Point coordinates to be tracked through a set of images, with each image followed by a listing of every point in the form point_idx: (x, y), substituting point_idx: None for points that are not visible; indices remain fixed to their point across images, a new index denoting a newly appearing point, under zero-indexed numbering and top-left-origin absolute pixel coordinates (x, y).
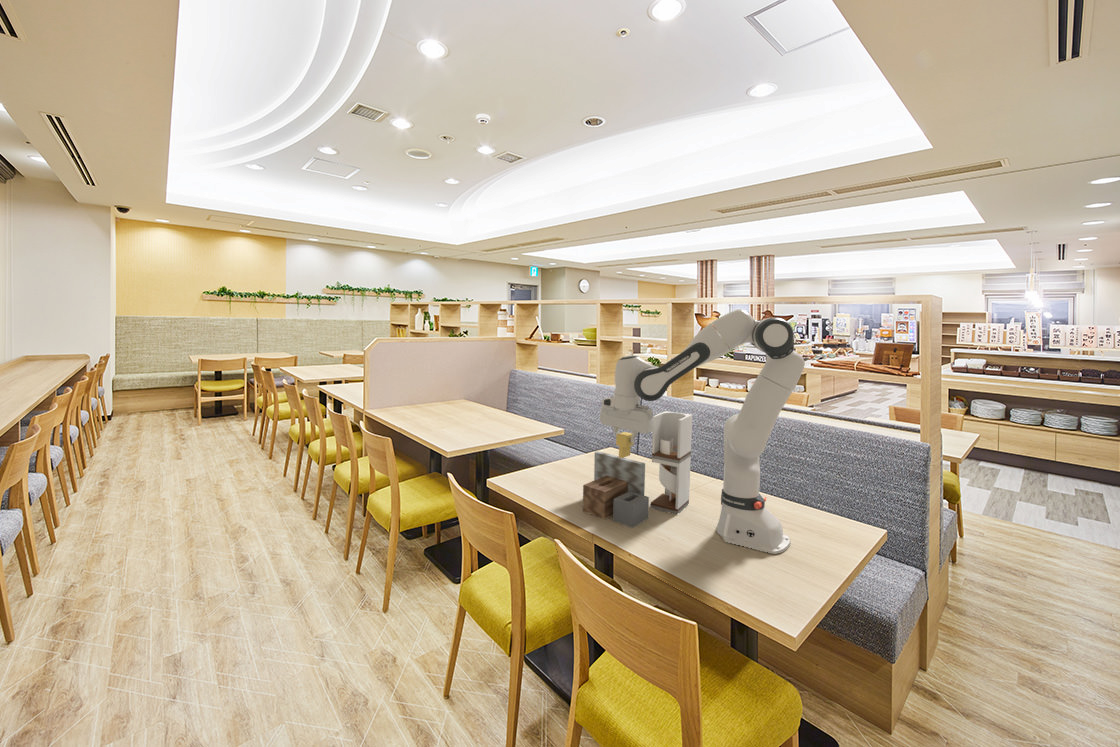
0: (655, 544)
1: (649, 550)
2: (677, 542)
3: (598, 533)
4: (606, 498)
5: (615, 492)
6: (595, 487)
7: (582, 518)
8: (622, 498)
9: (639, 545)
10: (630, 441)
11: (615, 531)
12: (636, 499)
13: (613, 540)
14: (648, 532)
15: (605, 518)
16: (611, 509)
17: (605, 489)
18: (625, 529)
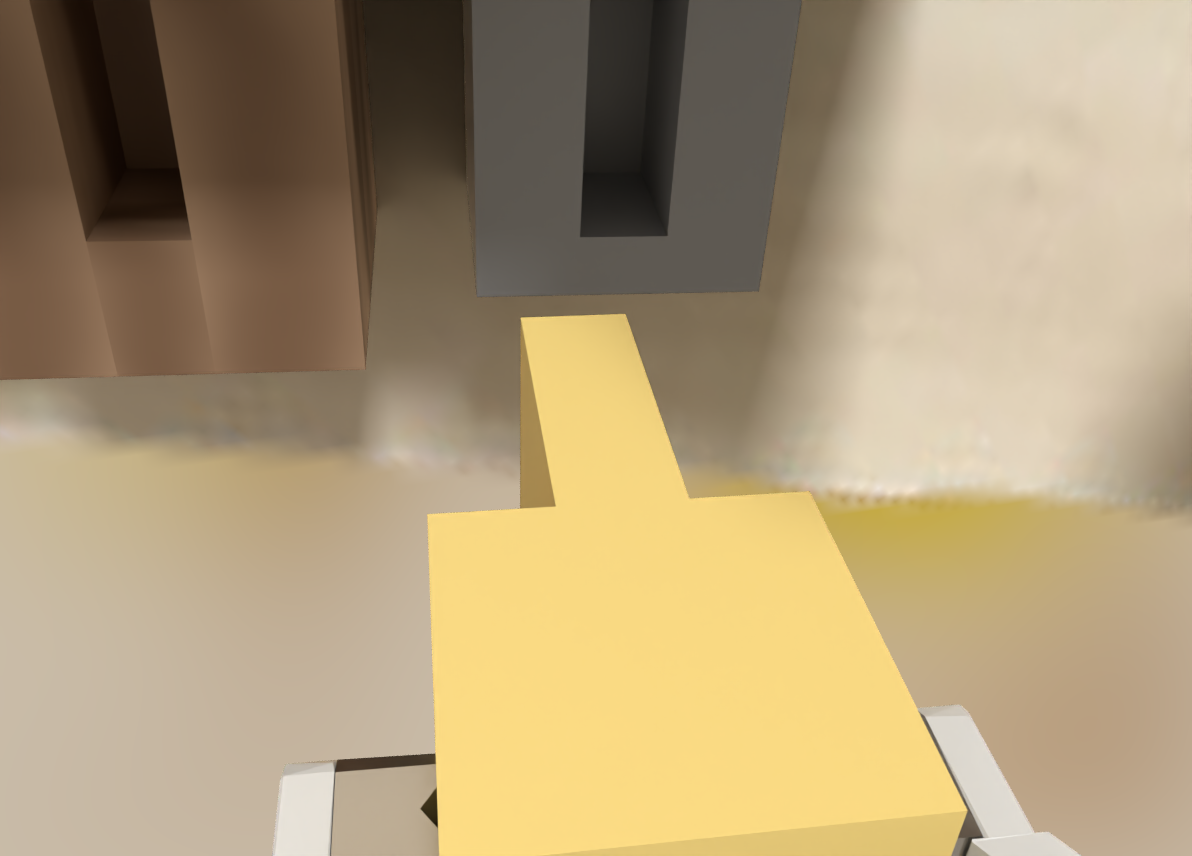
0: (994, 293)
1: (981, 393)
2: (1153, 143)
3: None
4: (367, 291)
5: (350, 110)
6: (152, 337)
7: None
8: (552, 212)
9: (890, 384)
10: None
11: None
12: (712, 114)
13: (688, 451)
14: (869, 154)
15: (375, 196)
16: (366, 118)
17: (304, 302)
18: None
